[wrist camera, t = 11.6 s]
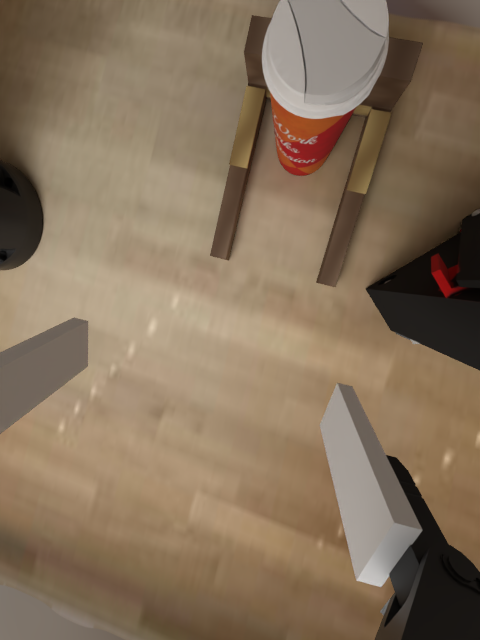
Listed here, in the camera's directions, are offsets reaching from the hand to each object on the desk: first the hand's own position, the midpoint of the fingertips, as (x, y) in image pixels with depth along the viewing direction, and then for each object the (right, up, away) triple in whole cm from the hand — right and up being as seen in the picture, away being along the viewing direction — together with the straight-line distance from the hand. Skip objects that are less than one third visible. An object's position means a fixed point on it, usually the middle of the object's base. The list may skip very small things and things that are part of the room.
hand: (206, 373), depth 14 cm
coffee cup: (+9, +23, +18) cm, 30 cm away
